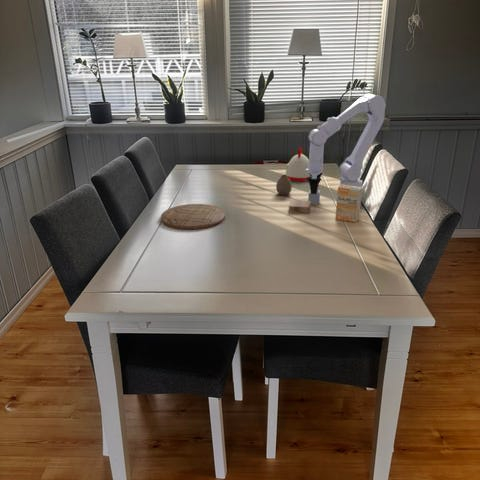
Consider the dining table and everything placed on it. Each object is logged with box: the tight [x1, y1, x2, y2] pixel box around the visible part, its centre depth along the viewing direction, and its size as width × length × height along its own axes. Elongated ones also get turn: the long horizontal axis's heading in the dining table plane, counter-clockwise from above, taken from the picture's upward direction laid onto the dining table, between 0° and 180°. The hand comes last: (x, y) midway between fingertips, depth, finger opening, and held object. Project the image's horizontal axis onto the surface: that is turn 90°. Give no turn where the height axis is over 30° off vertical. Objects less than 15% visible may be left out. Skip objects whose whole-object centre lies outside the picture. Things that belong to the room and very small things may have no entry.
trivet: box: [160, 203, 226, 231], centre depth 176 cm, size 25×25×2 cm
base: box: [288, 199, 311, 214], centre depth 183 cm, size 8×8×3 cm
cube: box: [307, 189, 321, 205], centre depth 191 cm, size 4×4×4 cm
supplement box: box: [334, 184, 363, 223], centre depth 170 cm, size 8×5×13 cm, turn 62°
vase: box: [275, 174, 293, 196], centre depth 201 cm, size 7×7×9 cm
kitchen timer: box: [285, 147, 311, 182], centre depth 224 cm, size 14×14×15 cm
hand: (314, 190), depth 190 cm, fingers open, 7 cm apart
